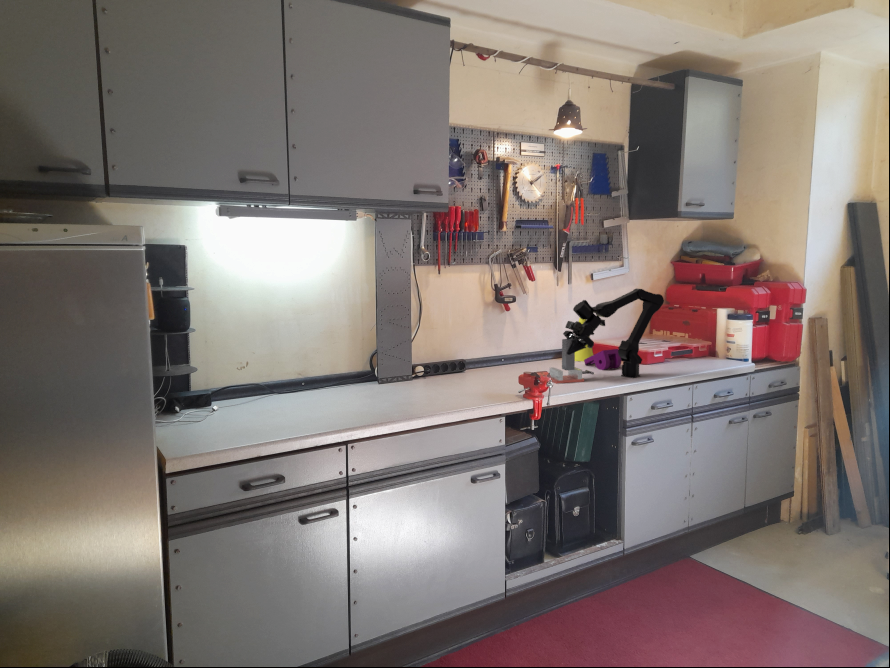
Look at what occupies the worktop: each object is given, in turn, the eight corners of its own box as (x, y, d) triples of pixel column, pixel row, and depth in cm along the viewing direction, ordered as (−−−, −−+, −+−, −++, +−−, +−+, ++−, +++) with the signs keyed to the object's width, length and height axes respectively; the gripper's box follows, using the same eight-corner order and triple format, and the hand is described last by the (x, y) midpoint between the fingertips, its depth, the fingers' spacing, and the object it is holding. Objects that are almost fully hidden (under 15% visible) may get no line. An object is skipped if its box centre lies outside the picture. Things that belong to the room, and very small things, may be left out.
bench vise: (585, 376, 261) (585, 365, 261) (595, 380, 253) (595, 369, 252) (547, 379, 257) (547, 367, 256) (556, 383, 248) (556, 371, 247)
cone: (565, 359, 307) (565, 311, 304) (579, 356, 315) (580, 310, 312) (584, 362, 298) (585, 313, 295) (598, 359, 306) (600, 311, 303)
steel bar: (570, 368, 256) (570, 338, 254) (574, 369, 252) (574, 339, 250) (561, 368, 255) (562, 339, 253) (566, 370, 251) (566, 340, 250)
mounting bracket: (584, 377, 289) (607, 367, 273) (580, 361, 291) (602, 350, 275) (599, 376, 293) (623, 365, 277) (595, 359, 295) (618, 348, 280)
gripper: (567, 312, 260) (544, 338, 259) (587, 316, 243) (563, 344, 241) (583, 329, 263) (560, 354, 262) (604, 334, 246) (580, 361, 244)
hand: (565, 353), depth 252 cm, fingers closed on steel bar, 4 cm apart
